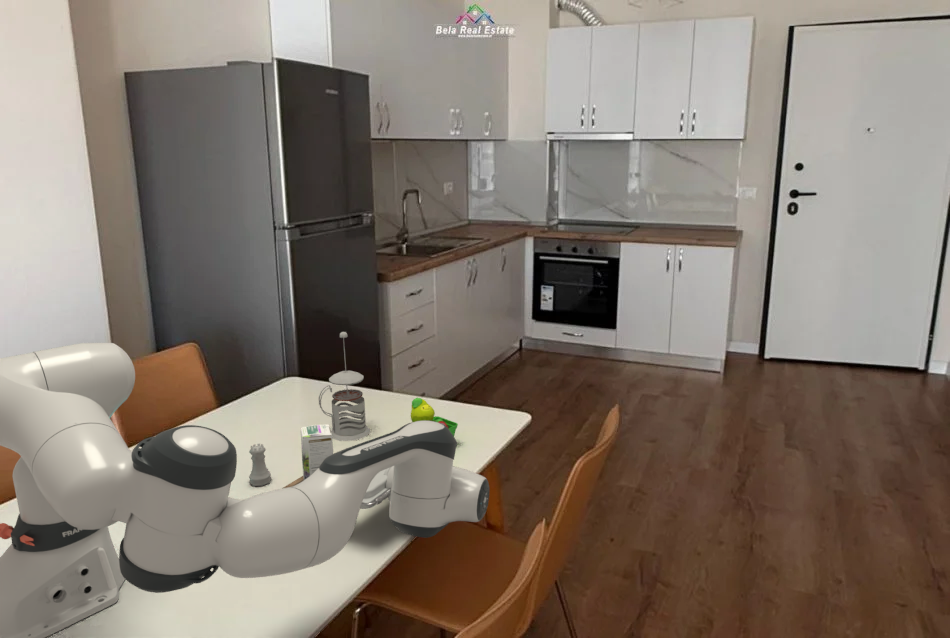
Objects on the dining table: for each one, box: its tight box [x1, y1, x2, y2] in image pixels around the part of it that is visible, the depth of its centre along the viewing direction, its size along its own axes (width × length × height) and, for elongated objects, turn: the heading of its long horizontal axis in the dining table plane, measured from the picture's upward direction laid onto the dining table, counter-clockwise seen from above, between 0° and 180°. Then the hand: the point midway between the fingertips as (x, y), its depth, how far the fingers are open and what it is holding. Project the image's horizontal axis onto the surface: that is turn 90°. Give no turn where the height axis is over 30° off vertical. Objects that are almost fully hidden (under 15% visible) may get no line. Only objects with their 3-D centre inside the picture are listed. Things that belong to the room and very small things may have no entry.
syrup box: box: [300, 424, 334, 480], centre depth 139 cm, size 6×6×14 cm
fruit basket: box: [410, 397, 459, 437], centre depth 162 cm, size 11×9×11 cm
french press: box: [318, 331, 371, 442], centre depth 169 cm, size 10×12×25 cm
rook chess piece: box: [248, 443, 272, 487], centre depth 147 cm, size 4×4×8 cm
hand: (346, 466), depth 136 cm, fingers open, 8 cm apart
